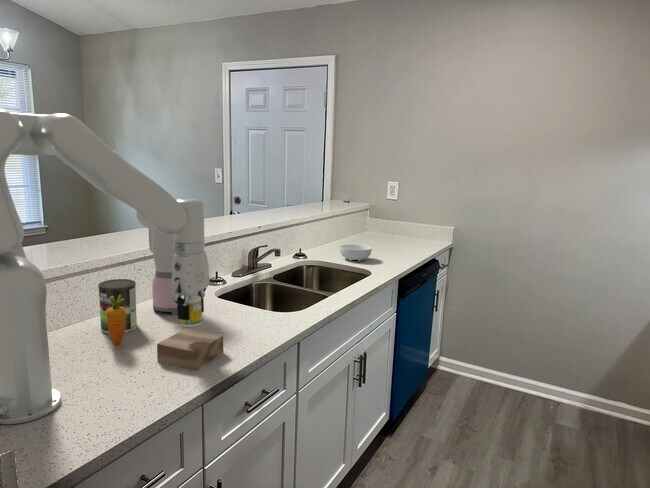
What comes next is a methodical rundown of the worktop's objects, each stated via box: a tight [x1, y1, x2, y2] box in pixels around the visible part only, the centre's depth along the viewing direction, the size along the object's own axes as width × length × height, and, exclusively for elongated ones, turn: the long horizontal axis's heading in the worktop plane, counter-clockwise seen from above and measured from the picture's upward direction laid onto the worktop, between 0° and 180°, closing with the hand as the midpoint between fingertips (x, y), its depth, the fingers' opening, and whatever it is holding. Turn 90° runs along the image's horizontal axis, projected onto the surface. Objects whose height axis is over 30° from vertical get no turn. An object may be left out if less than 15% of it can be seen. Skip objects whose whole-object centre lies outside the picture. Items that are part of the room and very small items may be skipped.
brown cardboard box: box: [156, 327, 224, 372], centre depth 120 cm, size 12×12×5 cm
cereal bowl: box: [339, 243, 372, 261], centre depth 243 cm, size 17×17×7 cm
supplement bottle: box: [180, 292, 203, 328], centre depth 118 cm, size 5×5×10 cm
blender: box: [148, 229, 183, 316], centre depth 154 cm, size 16×12×32 cm
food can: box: [97, 278, 138, 335], centre depth 137 cm, size 10×10×14 cm
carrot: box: [106, 295, 126, 348], centre depth 123 cm, size 5×5×15 cm
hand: (191, 314), depth 118 cm, fingers closed on supplement bottle, 5 cm apart
